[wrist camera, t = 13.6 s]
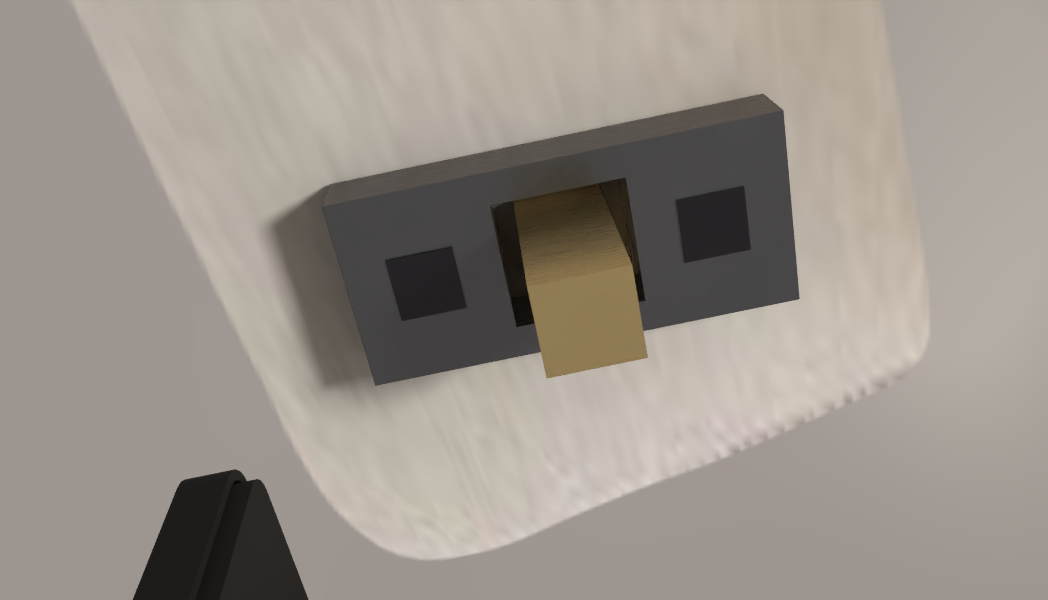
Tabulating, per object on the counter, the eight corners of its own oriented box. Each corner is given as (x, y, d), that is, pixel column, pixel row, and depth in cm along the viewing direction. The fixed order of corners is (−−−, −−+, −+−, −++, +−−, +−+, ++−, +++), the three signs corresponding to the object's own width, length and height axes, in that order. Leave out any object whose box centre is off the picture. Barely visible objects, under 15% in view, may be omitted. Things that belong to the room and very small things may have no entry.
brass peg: (512, 199, 46) (526, 286, 37) (597, 181, 46) (632, 265, 37) (529, 276, 48) (546, 378, 39) (611, 259, 48) (647, 357, 39)
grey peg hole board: (329, 184, 46) (321, 207, 43) (763, 93, 45) (783, 110, 42) (379, 355, 49) (375, 386, 47) (780, 273, 49) (799, 300, 46)
